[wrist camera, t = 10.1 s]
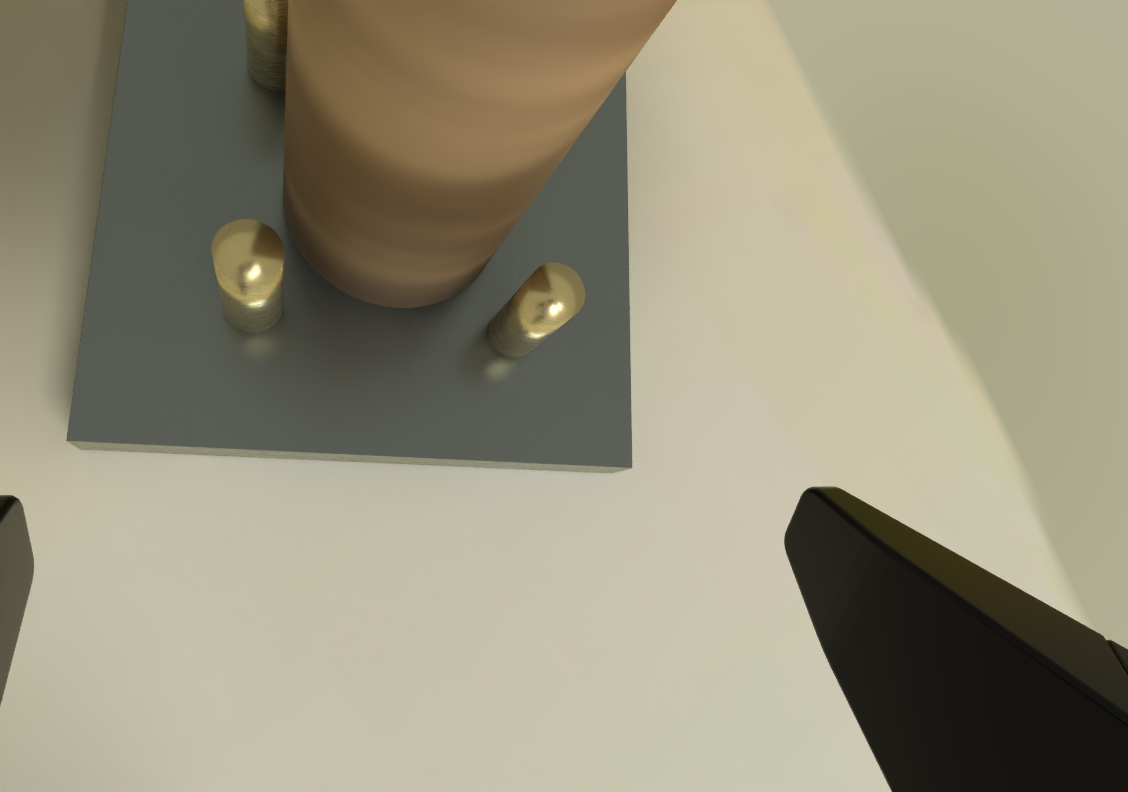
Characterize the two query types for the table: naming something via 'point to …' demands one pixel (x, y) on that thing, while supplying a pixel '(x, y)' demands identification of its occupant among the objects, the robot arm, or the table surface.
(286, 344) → the plate
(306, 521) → the table surface
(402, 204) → the walnut post
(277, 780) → the table surface
